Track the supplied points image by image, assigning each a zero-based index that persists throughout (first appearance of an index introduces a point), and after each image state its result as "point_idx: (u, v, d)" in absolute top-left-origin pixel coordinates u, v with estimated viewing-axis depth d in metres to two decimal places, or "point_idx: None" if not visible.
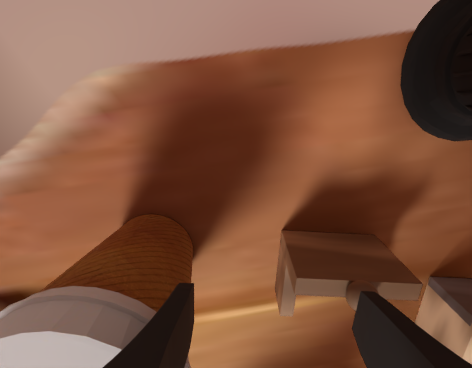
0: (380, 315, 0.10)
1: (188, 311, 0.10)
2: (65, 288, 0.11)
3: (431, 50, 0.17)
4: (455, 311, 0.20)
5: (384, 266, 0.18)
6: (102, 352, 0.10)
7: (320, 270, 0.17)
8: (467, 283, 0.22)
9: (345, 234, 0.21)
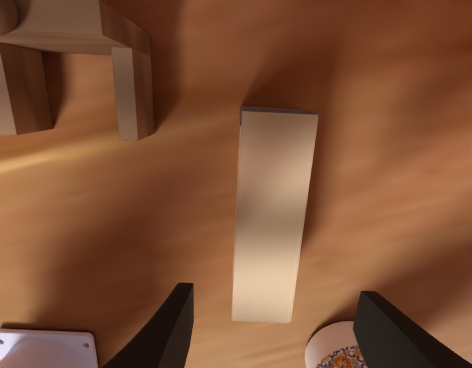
0: (381, 315, 0.10)
1: (187, 311, 0.10)
2: None
3: None
4: None
5: None
6: None
7: None
8: (284, 108, 0.16)
9: None
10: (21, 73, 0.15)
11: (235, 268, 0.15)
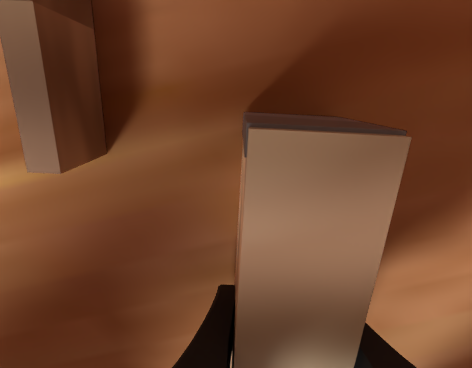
0: None
1: (233, 313, 0.10)
2: None
3: None
4: (244, 146, 0.08)
5: None
6: None
7: None
8: (317, 116, 0.10)
9: None
10: None
11: None
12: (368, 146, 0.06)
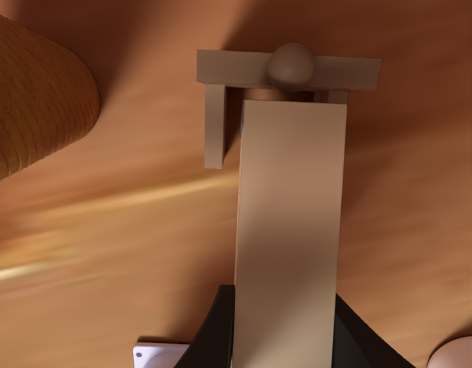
0: None
1: None
2: None
3: None
4: (242, 128, 0.11)
5: None
6: None
7: None
8: None
9: None
10: (224, 110, 0.16)
11: (235, 339, 0.09)
12: (321, 110, 0.09)
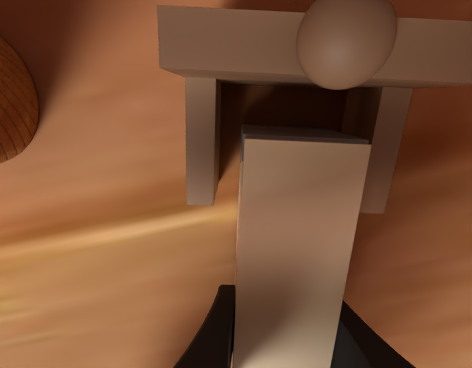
0: None
1: (234, 313, 0.10)
2: None
3: None
4: (242, 153, 0.09)
5: None
6: None
7: None
8: (303, 128, 0.11)
9: None
10: (217, 117, 0.10)
11: None
12: (338, 152, 0.07)
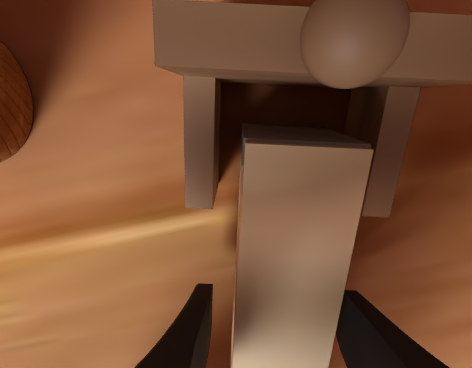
0: (359, 314, 0.10)
1: (209, 312, 0.10)
2: None
3: None
4: None
5: None
6: None
7: None
8: (305, 127, 0.11)
9: None
10: (217, 118, 0.10)
11: None
12: (339, 156, 0.07)
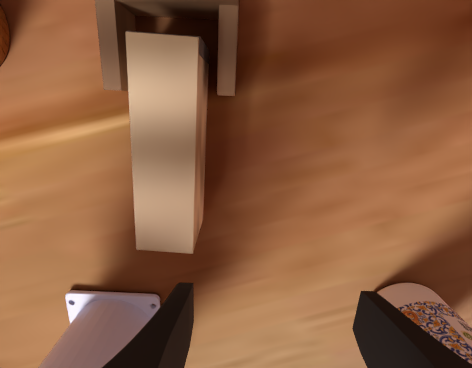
0: (381, 315, 0.10)
1: (187, 311, 0.10)
2: None
3: None
4: None
5: None
6: None
7: None
8: None
9: None
10: (124, 32, 0.16)
11: (134, 194, 0.16)
12: (179, 41, 0.13)
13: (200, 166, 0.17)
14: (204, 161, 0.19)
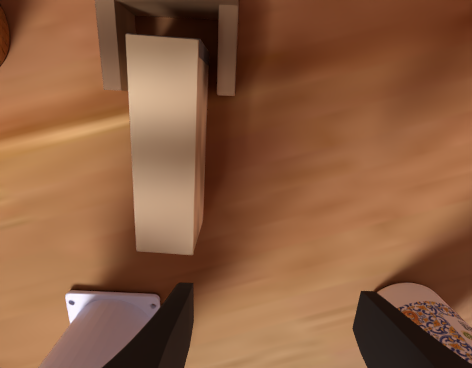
0: (381, 315, 0.10)
1: (187, 311, 0.10)
2: None
3: None
4: None
5: None
6: None
7: None
8: None
9: None
10: (124, 32, 0.16)
11: (134, 196, 0.16)
12: (179, 44, 0.13)
13: (200, 168, 0.17)
14: (204, 162, 0.19)
